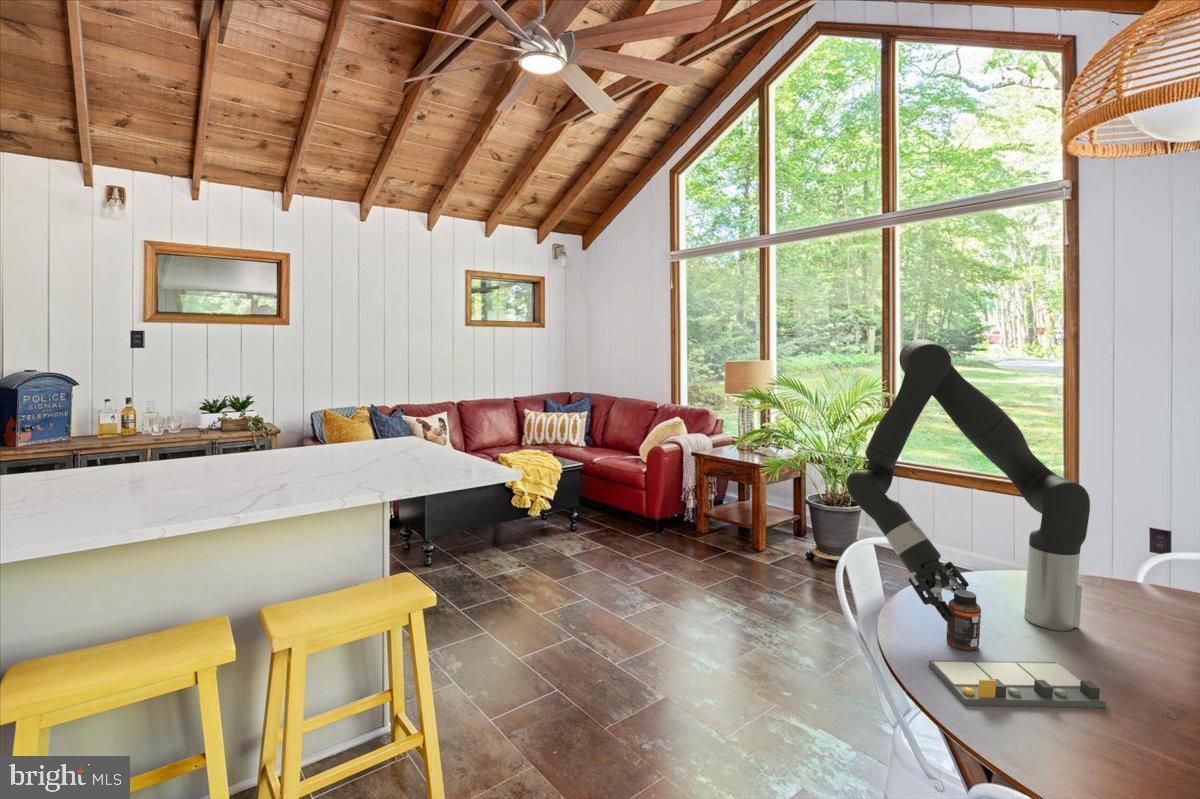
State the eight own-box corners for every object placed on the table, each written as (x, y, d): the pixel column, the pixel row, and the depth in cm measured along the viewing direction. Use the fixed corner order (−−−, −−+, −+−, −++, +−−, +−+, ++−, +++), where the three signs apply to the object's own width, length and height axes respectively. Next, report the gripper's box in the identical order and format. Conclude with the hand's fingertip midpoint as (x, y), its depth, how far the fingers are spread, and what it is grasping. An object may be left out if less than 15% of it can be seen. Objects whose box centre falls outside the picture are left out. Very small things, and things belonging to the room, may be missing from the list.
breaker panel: (1054, 667, 120) (1055, 646, 119) (1105, 707, 107) (1107, 684, 106) (928, 665, 121) (929, 644, 120) (965, 705, 108) (966, 681, 107)
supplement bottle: (983, 653, 125) (987, 600, 124) (952, 650, 126) (954, 598, 125) (972, 639, 131) (975, 588, 130) (942, 636, 132) (944, 586, 131)
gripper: (905, 544, 130) (958, 616, 122) (942, 532, 138) (993, 599, 129) (881, 560, 135) (930, 630, 127) (918, 548, 143) (966, 613, 134)
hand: (962, 614), depth 128 cm, fingers open, 8 cm apart
